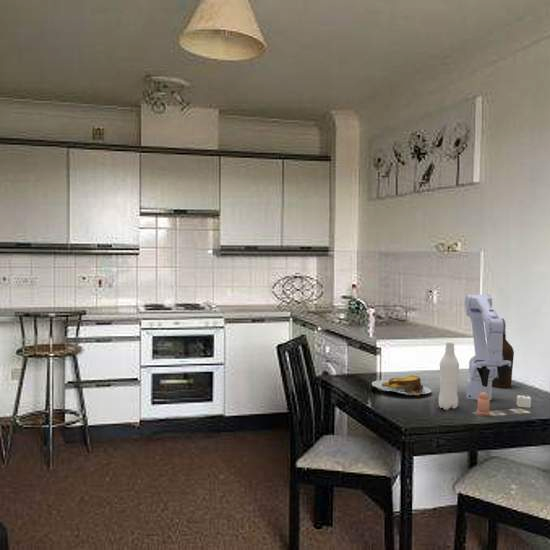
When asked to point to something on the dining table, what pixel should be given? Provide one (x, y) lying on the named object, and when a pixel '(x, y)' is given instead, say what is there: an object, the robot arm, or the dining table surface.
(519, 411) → the board
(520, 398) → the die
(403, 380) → the food on plate
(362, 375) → the dining table surface
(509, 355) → the olive oil
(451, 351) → the water bottle
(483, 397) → the pawn
